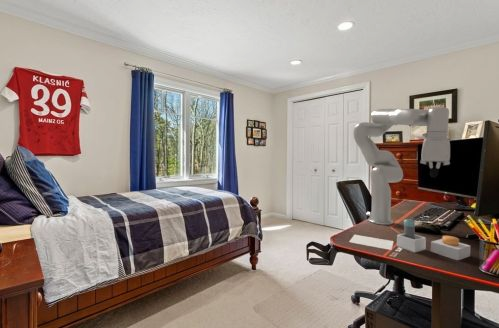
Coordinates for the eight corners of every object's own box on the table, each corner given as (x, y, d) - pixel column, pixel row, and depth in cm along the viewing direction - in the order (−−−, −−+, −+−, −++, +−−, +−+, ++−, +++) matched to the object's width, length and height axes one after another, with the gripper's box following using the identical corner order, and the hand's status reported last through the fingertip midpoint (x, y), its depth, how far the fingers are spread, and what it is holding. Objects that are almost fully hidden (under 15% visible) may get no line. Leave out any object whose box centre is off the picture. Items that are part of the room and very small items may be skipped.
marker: (402, 246, 104) (401, 219, 104) (407, 244, 105) (407, 218, 105) (411, 249, 100) (410, 221, 100) (417, 247, 102) (416, 220, 102)
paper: (348, 242, 109) (348, 241, 109) (354, 234, 119) (354, 234, 119) (391, 250, 100) (391, 249, 100) (393, 241, 110) (393, 241, 110)
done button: (439, 241, 98) (439, 236, 98) (446, 239, 101) (446, 234, 101) (454, 246, 94) (454, 240, 94) (461, 243, 96) (461, 238, 96)
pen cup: (396, 246, 104) (397, 234, 104) (407, 244, 108) (407, 232, 107) (414, 253, 98) (415, 240, 98) (425, 250, 101) (425, 237, 101)
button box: (430, 251, 99) (430, 241, 99) (442, 248, 103) (443, 238, 103) (457, 260, 91) (458, 249, 91) (470, 256, 96) (470, 245, 95)
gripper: (416, 135, 114) (413, 176, 115) (459, 135, 105) (455, 179, 107) (416, 136, 120) (414, 175, 121) (457, 136, 111) (454, 177, 113)
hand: (433, 177), depth 114 cm, fingers closed
